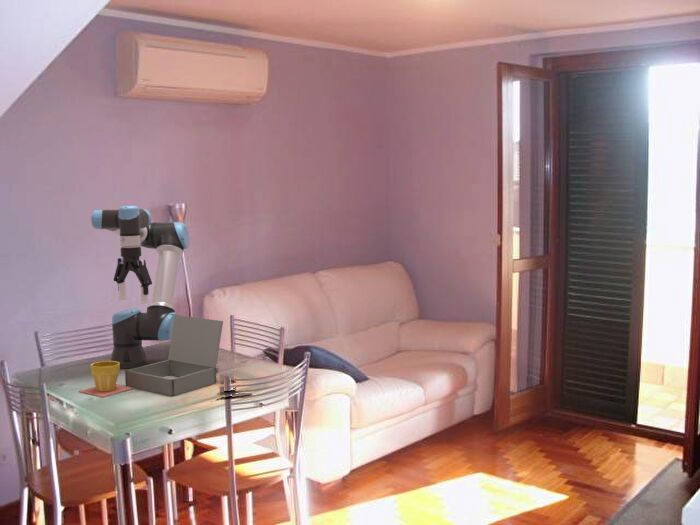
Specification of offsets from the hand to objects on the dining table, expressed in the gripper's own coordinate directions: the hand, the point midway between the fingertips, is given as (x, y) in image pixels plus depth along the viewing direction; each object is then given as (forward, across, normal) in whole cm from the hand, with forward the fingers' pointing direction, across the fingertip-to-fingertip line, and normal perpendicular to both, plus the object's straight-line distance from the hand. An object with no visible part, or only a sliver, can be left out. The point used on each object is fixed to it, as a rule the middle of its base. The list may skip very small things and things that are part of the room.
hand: (133, 301), depth 301 cm
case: (+31, +16, +3) cm, 35 cm away
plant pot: (+31, +2, -16) cm, 35 cm away
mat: (+31, +2, -16) cm, 35 cm away
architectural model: (+31, +41, +8) cm, 53 cm away
